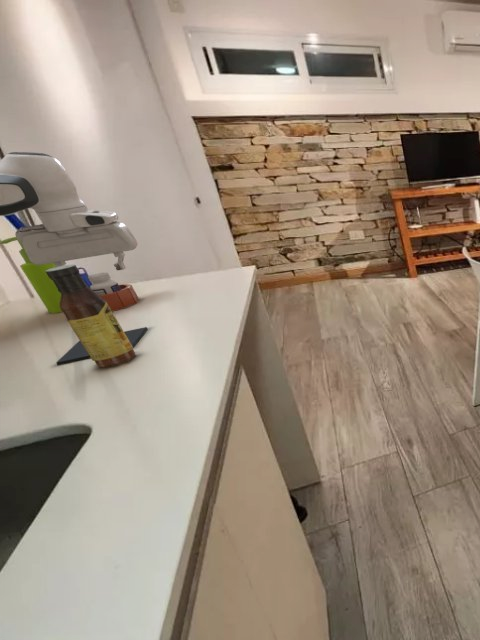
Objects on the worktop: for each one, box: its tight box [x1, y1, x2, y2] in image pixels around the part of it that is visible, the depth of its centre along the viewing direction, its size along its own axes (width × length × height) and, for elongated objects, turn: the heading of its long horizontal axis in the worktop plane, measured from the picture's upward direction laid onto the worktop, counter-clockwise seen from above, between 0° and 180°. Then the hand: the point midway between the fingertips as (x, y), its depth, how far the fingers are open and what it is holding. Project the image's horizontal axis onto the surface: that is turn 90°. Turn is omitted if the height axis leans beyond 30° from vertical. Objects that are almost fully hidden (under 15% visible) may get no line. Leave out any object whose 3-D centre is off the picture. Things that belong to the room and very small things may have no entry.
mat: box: [56, 326, 148, 366], centre depth 103 cm, size 12×12×1 cm
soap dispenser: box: [0, 236, 63, 314], centre depth 124 cm, size 6×7×20 cm
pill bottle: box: [87, 271, 121, 295], centre depth 126 cm, size 5×5×9 cm
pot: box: [99, 283, 140, 312], centre depth 127 cm, size 10×10×4 cm
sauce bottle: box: [46, 263, 136, 368], centre depth 91 cm, size 6×6×20 cm
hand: (98, 273), depth 124 cm, fingers open, 8 cm apart
